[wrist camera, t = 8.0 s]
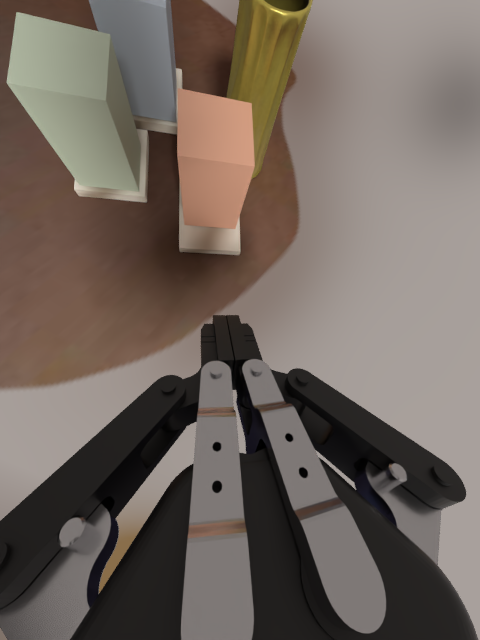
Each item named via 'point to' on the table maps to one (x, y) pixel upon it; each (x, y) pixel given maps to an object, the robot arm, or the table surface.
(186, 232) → the block bases
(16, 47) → the sage block
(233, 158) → the terracotta block
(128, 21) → the slate block
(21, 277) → the table surface
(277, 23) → the vase
